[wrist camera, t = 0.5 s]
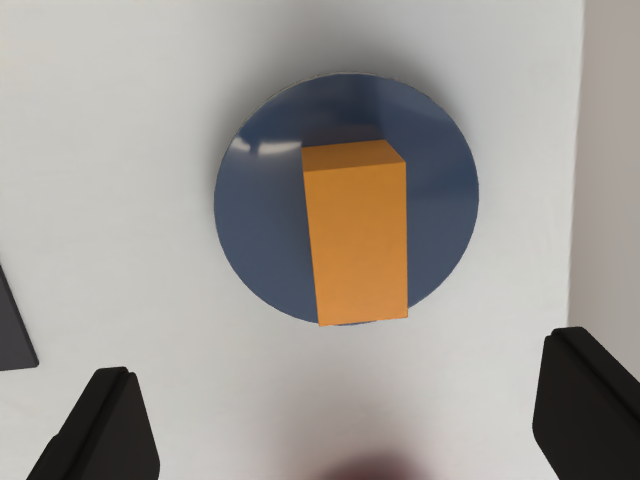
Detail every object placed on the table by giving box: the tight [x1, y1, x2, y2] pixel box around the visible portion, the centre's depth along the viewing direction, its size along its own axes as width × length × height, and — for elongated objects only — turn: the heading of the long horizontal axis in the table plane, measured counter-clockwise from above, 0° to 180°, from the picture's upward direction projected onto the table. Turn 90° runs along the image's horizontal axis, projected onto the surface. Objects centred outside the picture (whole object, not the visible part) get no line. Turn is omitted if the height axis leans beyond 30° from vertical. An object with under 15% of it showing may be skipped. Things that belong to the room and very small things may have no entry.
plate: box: [214, 72, 479, 326], centre depth 27 cm, size 15×15×2 cm
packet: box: [301, 139, 408, 326], centre depth 24 cm, size 8×4×5 cm, turn 5°
